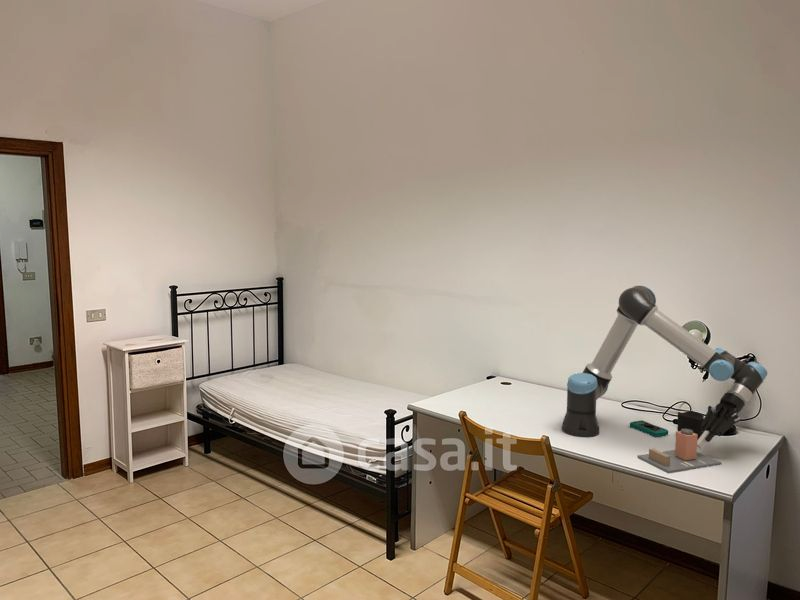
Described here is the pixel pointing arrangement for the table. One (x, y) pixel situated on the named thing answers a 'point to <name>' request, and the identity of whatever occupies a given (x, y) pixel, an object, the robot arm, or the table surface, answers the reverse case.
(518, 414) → the table surface
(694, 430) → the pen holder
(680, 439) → the pink capped canister
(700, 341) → the robot arm
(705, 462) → the plate
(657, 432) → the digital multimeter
